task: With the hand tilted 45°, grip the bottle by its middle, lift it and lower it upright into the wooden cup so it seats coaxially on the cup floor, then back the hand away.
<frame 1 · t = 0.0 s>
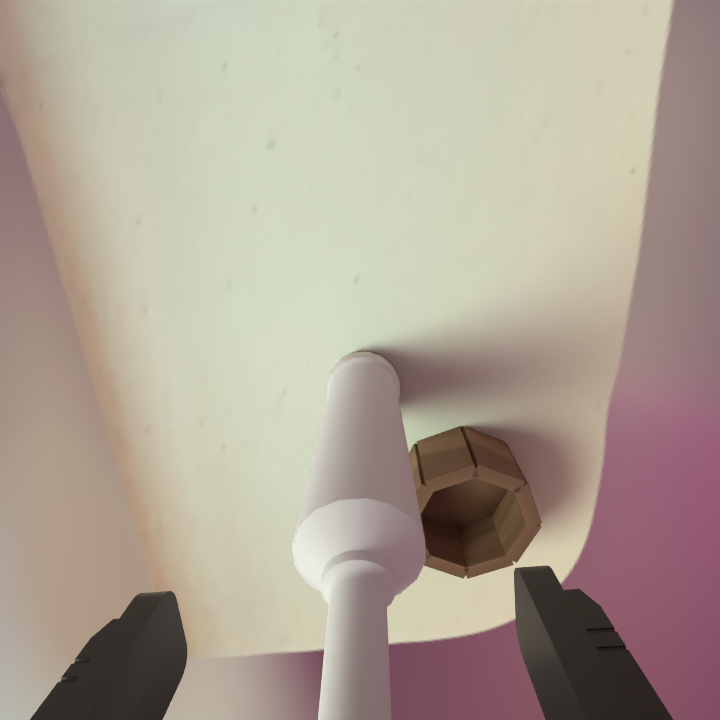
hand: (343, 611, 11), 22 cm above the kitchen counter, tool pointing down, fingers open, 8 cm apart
wooden cup: (457, 480, 36), on the kitchen counter
bottle: (363, 380, 33), on the kitchen counter
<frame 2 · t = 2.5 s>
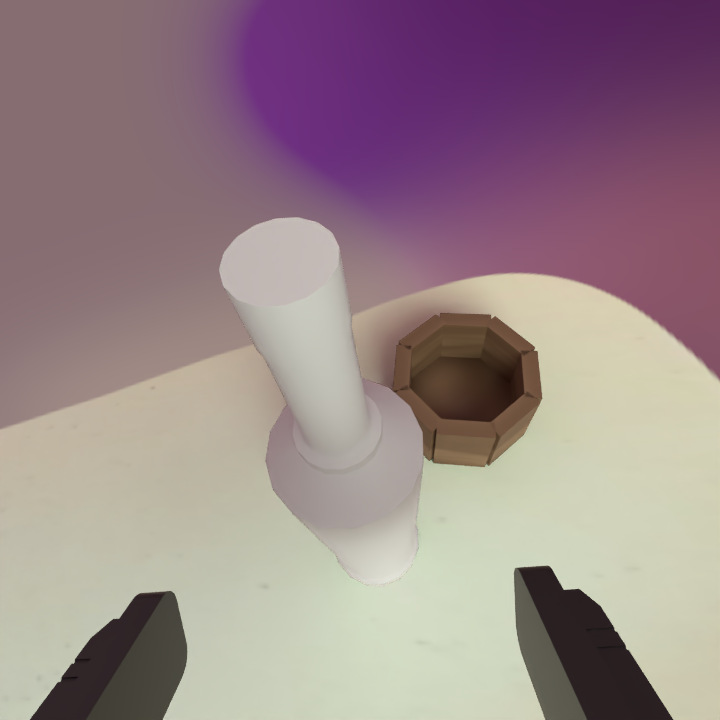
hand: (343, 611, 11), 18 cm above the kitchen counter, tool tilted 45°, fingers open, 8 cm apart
wooden cup: (458, 405, 33), on the kitchen counter
bottle: (377, 543, 29), on the kitchen counter
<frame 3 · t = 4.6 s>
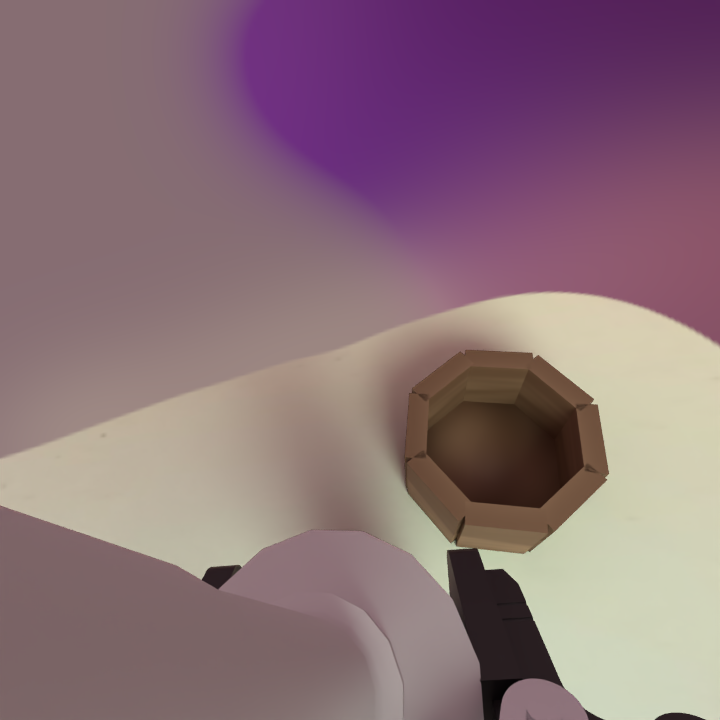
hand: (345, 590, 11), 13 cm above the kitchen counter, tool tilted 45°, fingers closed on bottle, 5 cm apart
wooden cup: (487, 465, 26), on the kitchen counter
bottle: (383, 661, 22), on the kitchen counter, touching gripper
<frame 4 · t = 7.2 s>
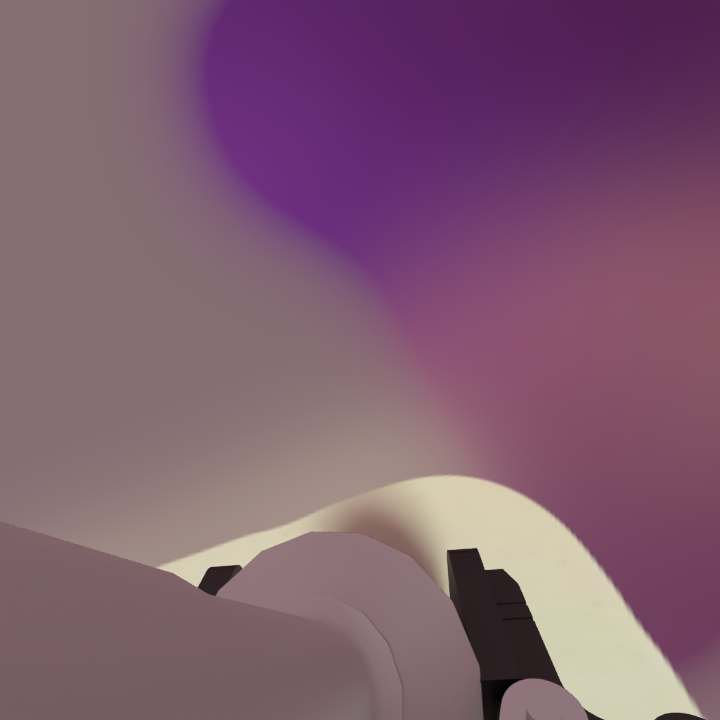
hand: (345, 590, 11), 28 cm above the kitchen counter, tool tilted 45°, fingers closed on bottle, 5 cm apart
bottle: (383, 662, 22), point 15 cm above the kitchen counter, touching gripper
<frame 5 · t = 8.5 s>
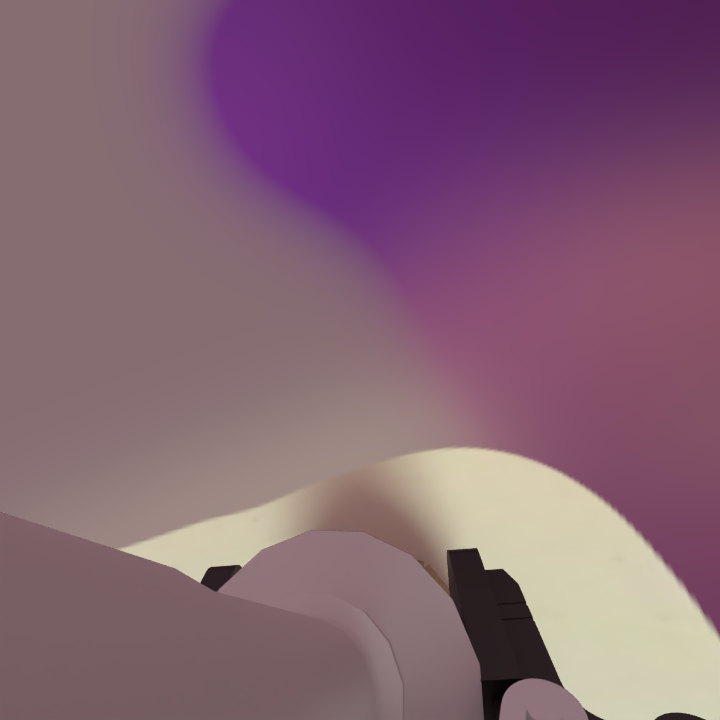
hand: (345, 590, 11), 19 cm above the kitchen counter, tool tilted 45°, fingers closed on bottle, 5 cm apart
bottle: (383, 662, 22), point 5 cm above the kitchen counter, touching gripper
when the fingers open (15 cm above the kitchen counter, at t = 9.6 s): bottle drops 1 cm, resting on wooden cup.
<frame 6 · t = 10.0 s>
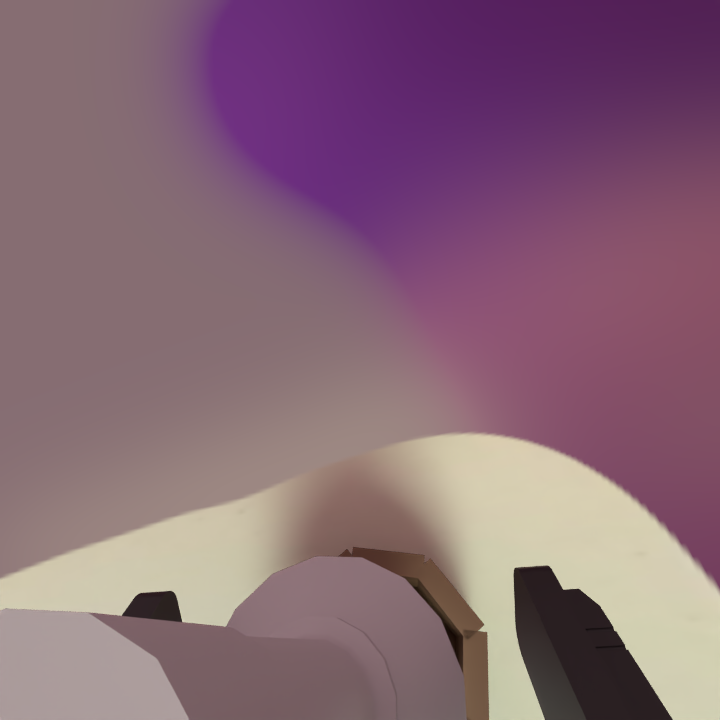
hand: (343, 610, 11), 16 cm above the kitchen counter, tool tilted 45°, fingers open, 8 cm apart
wooden cup: (385, 660, 24), on the kitchen counter
bottle: (382, 667, 23), point 1 cm above the kitchen counter, touching wooden cup
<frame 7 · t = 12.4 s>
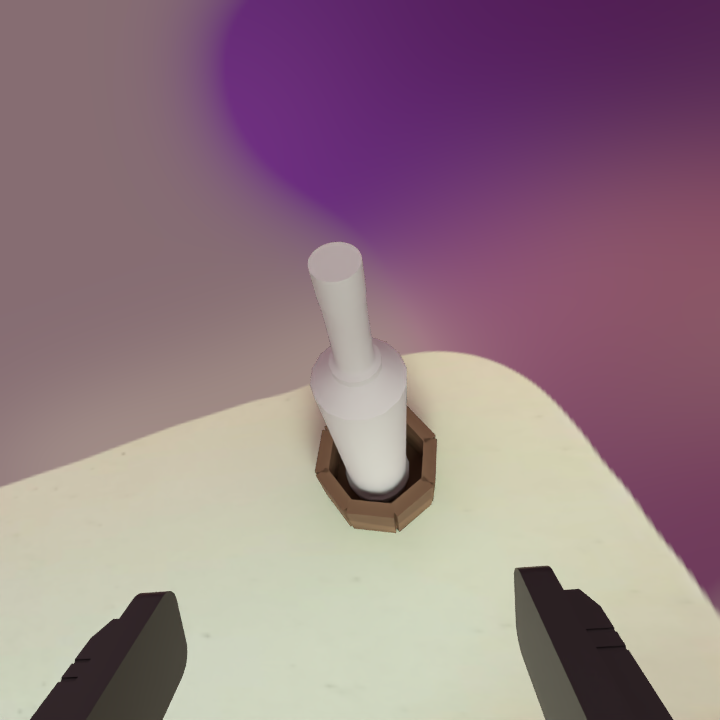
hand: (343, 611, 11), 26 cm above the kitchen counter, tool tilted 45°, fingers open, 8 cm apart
wooden cup: (380, 475, 39), on the kitchen counter
bottle: (378, 475, 38), point 1 cm above the kitchen counter, touching wooden cup
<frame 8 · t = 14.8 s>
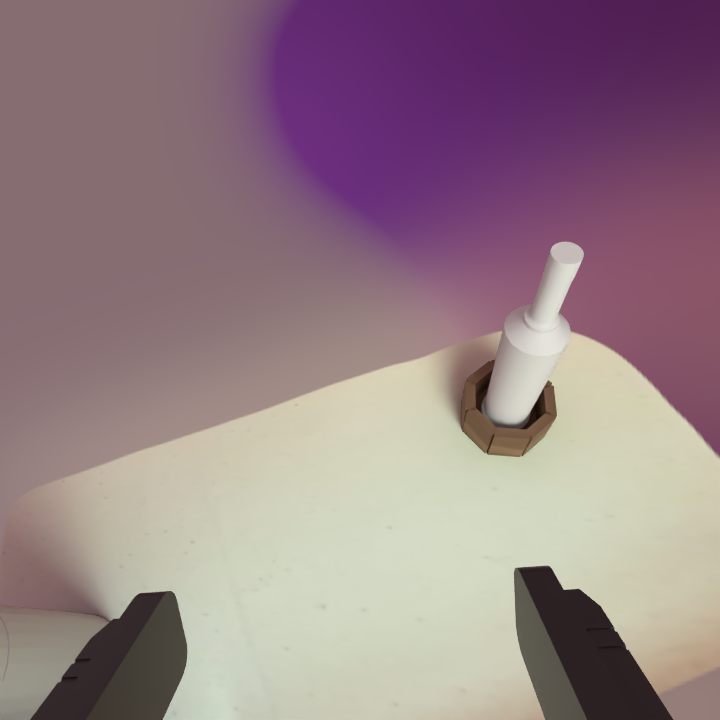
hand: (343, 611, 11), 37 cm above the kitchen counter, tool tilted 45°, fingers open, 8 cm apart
wooden cup: (502, 417, 52), on the kitchen counter
bottle: (502, 416, 51), point 1 cm above the kitchen counter, touching wooden cup
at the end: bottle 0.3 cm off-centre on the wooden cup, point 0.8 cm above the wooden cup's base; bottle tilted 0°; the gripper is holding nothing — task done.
